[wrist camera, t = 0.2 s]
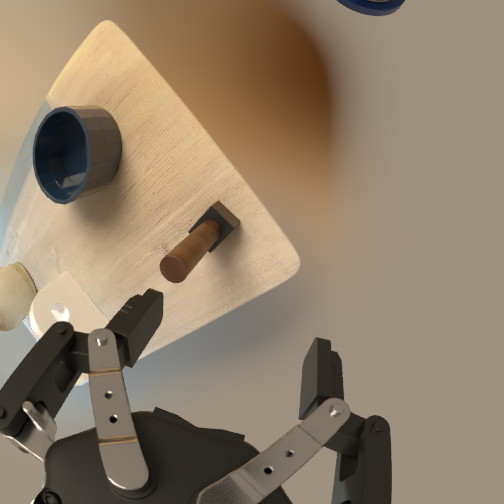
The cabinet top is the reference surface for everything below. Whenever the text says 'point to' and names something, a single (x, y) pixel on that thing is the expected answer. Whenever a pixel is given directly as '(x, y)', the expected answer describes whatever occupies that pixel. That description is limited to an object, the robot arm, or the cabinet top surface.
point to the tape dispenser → (65, 309)
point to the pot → (76, 152)
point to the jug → (15, 295)
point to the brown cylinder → (198, 242)
